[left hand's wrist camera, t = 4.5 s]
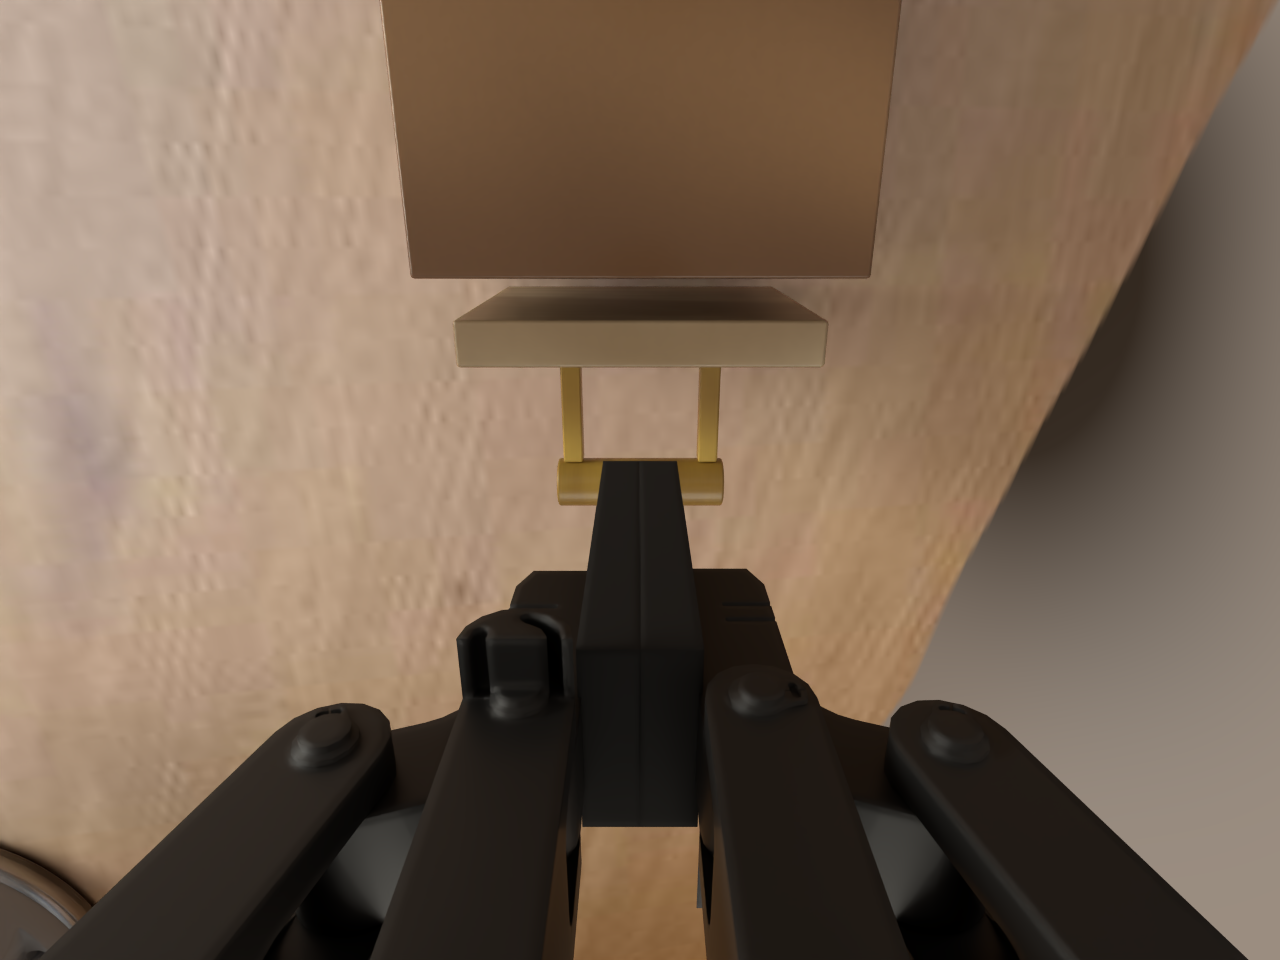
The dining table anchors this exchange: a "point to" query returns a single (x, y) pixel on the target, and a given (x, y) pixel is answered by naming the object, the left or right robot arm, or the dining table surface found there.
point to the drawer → (640, 355)
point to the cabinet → (640, 136)
